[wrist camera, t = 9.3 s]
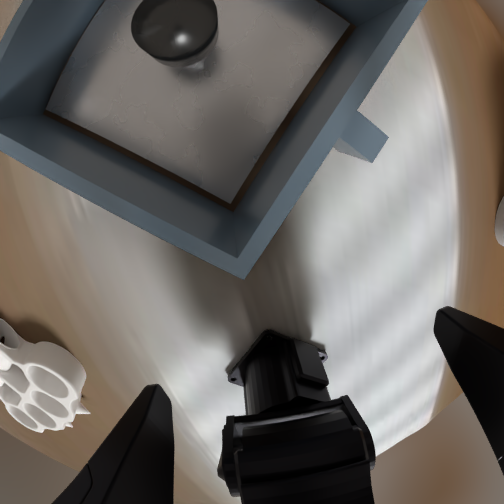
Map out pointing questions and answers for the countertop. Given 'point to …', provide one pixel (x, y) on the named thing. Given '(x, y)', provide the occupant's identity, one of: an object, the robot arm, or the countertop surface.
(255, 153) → the lid with knob
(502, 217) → the cup
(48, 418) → the white muffin tray
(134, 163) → the blue grey open box
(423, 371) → the countertop surface
